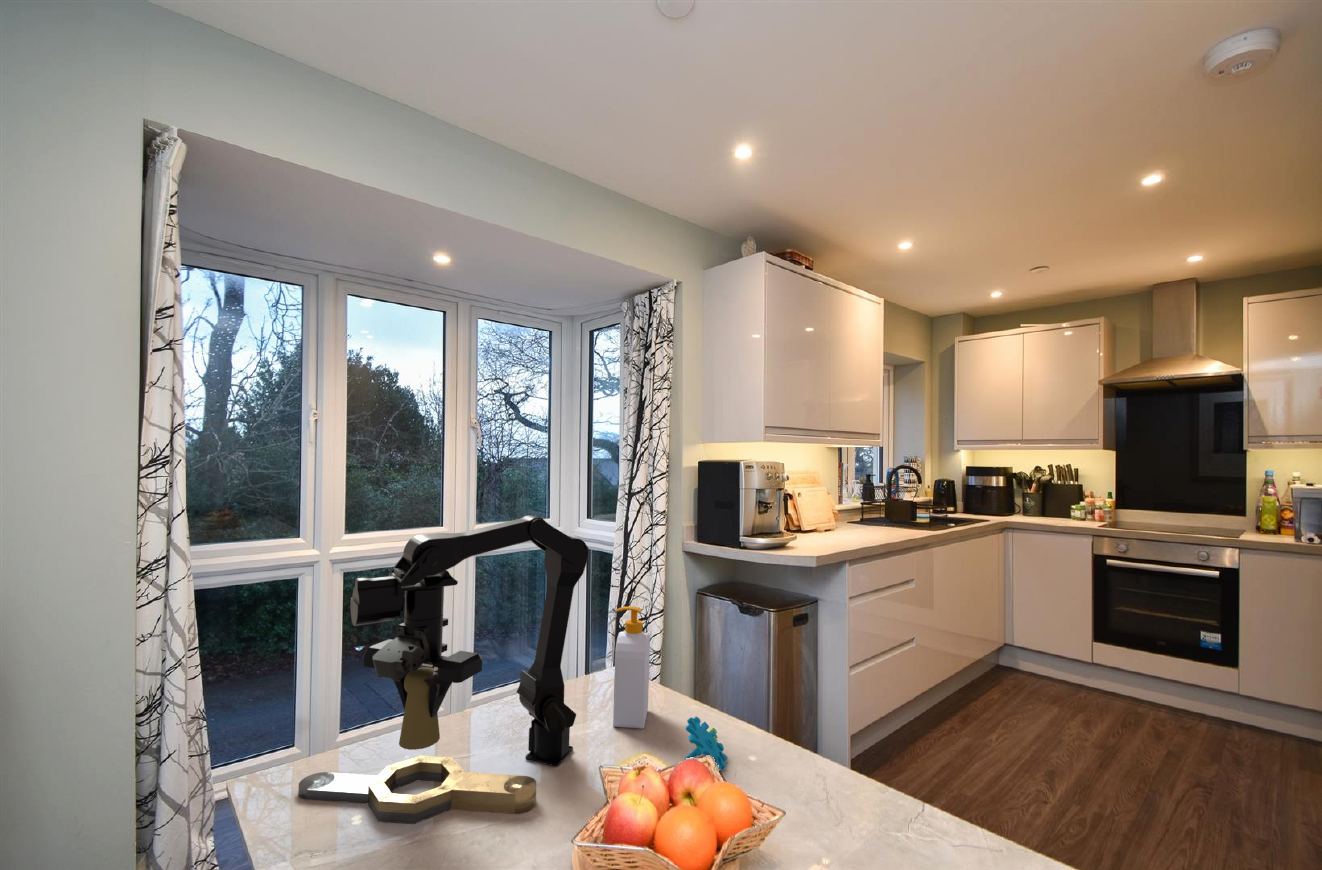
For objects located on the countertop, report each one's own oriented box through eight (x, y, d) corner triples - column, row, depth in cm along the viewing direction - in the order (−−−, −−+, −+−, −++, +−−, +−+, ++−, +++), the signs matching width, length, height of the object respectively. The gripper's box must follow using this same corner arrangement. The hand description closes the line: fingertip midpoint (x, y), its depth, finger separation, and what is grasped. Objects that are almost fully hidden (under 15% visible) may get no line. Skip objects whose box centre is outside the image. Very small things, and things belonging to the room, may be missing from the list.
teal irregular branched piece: (721, 775, 99) (684, 722, 103) (695, 796, 100) (660, 743, 104) (737, 754, 109) (703, 706, 113) (713, 773, 110) (680, 725, 114)
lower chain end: (472, 777, 99) (473, 768, 99) (439, 826, 86) (439, 815, 86) (327, 767, 101) (327, 758, 101) (272, 814, 88) (272, 804, 88)
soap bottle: (615, 708, 127) (619, 601, 128) (648, 710, 127) (651, 603, 127) (608, 727, 118) (612, 612, 119) (643, 730, 118) (646, 614, 118)
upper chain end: (545, 781, 99) (546, 763, 99) (523, 832, 86) (523, 811, 86) (397, 772, 100) (398, 754, 100) (353, 820, 87) (354, 799, 87)
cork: (448, 736, 95) (450, 667, 95) (418, 753, 90) (421, 680, 90) (420, 727, 98) (423, 660, 98) (390, 744, 92) (392, 672, 92)
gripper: (336, 622, 89) (332, 726, 89) (438, 637, 83) (434, 749, 83) (391, 604, 100) (388, 697, 100) (485, 617, 94) (482, 716, 94)
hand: (420, 714), depth 94 cm, fingers closed on cork, 4 cm apart
